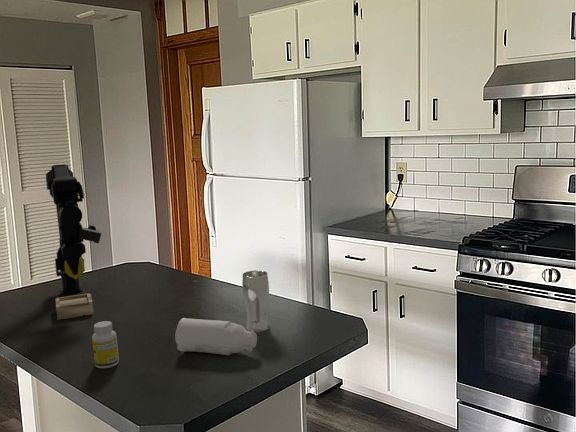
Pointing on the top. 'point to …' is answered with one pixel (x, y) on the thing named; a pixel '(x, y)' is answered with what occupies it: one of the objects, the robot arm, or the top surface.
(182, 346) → the white plastic bottle
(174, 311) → the top surface
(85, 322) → the top surface
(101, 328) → the supplement bottle
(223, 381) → the top surface
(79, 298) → the wooden serving tray
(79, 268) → the lemon
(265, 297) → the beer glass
